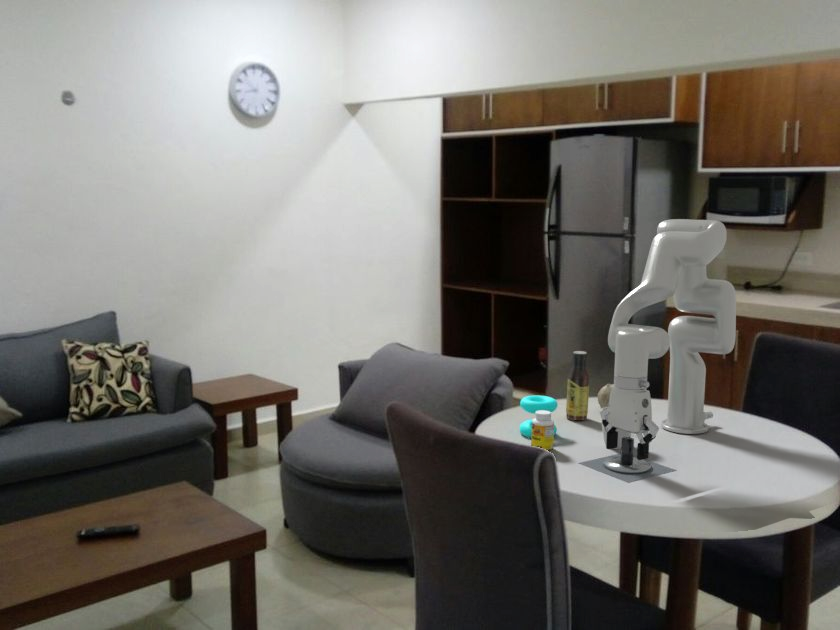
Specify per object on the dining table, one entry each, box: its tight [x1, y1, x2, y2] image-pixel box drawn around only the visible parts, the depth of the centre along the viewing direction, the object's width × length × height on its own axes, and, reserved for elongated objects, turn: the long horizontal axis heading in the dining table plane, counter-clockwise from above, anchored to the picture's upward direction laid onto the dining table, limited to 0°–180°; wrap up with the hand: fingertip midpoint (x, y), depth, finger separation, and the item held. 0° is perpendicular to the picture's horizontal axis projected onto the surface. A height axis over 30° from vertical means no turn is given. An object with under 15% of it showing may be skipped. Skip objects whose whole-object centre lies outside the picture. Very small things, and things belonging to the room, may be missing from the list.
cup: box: [600, 407, 632, 450], centre depth 211 cm, size 8×8×10 cm
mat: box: [578, 453, 677, 484], centre depth 195 cm, size 16×16×1 cm
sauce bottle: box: [565, 350, 590, 422], centre depth 237 cm, size 6×6×20 cm
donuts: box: [519, 394, 558, 438], centre depth 222 cm, size 10×10×10 cm
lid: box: [603, 436, 651, 474], centre depth 195 cm, size 11×11×7 cm
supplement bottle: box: [530, 410, 555, 453], centre depth 208 cm, size 6×6×10 cm
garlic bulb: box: [597, 383, 614, 409], centre depth 245 cm, size 9×8×10 cm
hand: (626, 453), depth 194 cm, fingers open, 9 cm apart
